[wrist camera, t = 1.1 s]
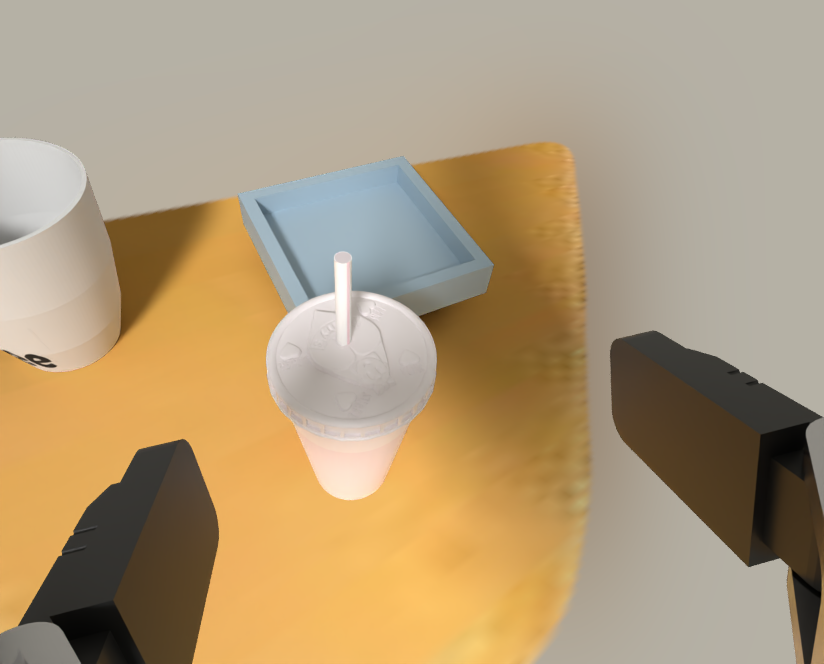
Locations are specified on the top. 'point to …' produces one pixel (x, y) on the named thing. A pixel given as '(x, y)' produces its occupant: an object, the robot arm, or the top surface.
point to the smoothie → (351, 381)
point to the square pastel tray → (365, 237)
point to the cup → (53, 260)
